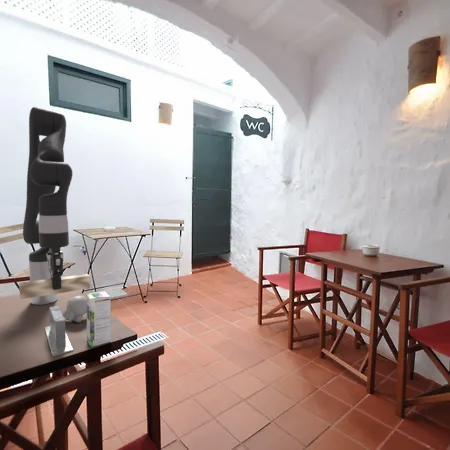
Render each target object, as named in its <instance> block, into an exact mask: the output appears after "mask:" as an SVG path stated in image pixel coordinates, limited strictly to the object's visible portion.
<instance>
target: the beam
mask: <svg viewBox="0 0 450 450" xmlns="http://www.w3.org/2000/svg"><path fill="white" fill-rule="evenodd" d="M90 279H91V278H90V275H89V274H88V273H83V274H76V275H67V276H61V289H57V290H53V287H52V279H44V280H36V281H30V280H29V281H21V282H18V285H19V286H18V287H19V288H18V289H19V291H18V292H19V300H25V299H31V298H32V297H39V296H45V295H51V294H57V295H58V294H64V293H69V292H70V293H71V292H74V291H75V292H76V291H81V290H90V289H91V282H90V281H91V280H90Z"/></svg>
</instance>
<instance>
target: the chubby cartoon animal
mask: <svg viewBox="0 0 450 450" xmlns="http://www.w3.org/2000/svg"><path fill="white" fill-rule="evenodd" d="M85 314H86V315H87V296H84V295H75V296H73V297H71V298H70V299H69V300H68V301H67V304H66V309H65V310H64V311H63V312H62V315H63V318H64V320H65V321H70V322H72V321H74V322H76V323H81V322H82V321H83V318H84V315H85Z"/></svg>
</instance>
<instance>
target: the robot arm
mask: <svg viewBox="0 0 450 450" xmlns="http://www.w3.org/2000/svg"><path fill="white" fill-rule="evenodd" d="M28 116H29V117H28V135H29V136H28V137H29V138H28V144H29V145H28V147H29V149H28V151H29V152H28V154H29V155H28V163H27V176H26V205H25V211H24V220H23V227H22V237H23V241H24V242H25V243H26V244H29V245H36V244H39V247H40V248H38V249H36V250H34V251H32V252H30V253H29V255H28V263H29V264H28V266H29V267H28V268H29V281H36V280H44V279H52V287H53V290H57V289H61V277H63V275H64V273H63V269H64V252H63V251H62V250H61V248H65V247H67V246H69V244H70V240H69V238H70V237H69V235H70V234H69V221H68V220H69V219H68V207H67V202H68V201H67V200H68V193H69V189H70V185H71V183H72V179H73V169H72V167H71V166H70V165H69V164H68V163H67V162H65V155H64V154H65V153H64V148H65V147H64V145H65V141H66V133H67V132H66V131H67V118H66V117H65V115H64V114H63V113H62V112H59V111H54V110H51V109H47V108H42V107H38V106H33V107H31V109H30V110H29V115H28ZM40 136H41V137H42V136H43V137H44V138H42V139H41V140H40ZM57 187H58V190H57V191H56V188H57ZM57 300H58V294H51V295H45V296H39V297H32V298H30V303H31V304H32V305H36V306H40V305H41V306H42V305H48V304H52V303H54V302H56V301H57Z"/></svg>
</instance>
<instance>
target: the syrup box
mask: <svg viewBox="0 0 450 450" xmlns="http://www.w3.org/2000/svg"><path fill="white" fill-rule="evenodd" d="M86 298H87V313H86V341H87V342H88V345H89V346H90V347H91V348H93V347H97V346H99V345H103V344H108V343H110V342H111V341H112V340H111V339H112V337H111V335H112V334H111V332H112V331H111V325H112V324H111V321H112V319H111V312H112V311H111V307H112V305H111V296H110V295H109V293H108V292H106V291H95V292H90V293H87V294H86Z"/></svg>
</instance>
